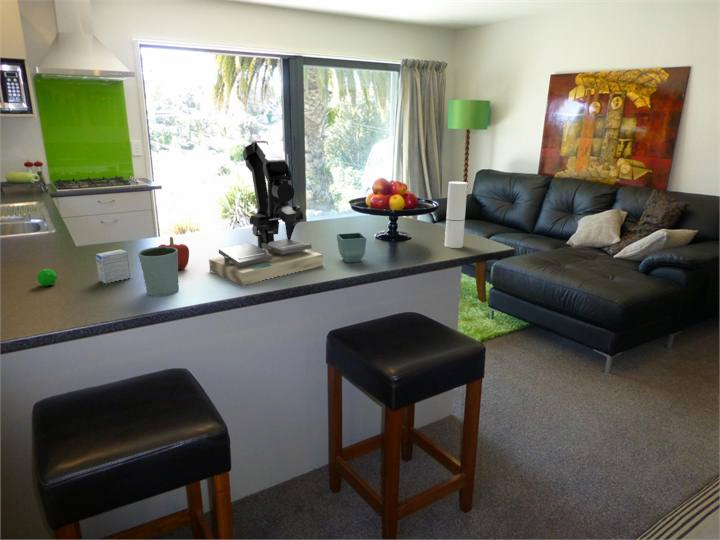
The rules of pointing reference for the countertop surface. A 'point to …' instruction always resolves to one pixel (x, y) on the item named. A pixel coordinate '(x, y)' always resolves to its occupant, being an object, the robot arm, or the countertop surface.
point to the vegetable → (180, 253)
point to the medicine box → (113, 266)
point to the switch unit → (266, 266)
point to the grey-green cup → (160, 270)
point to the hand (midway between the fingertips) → (278, 242)
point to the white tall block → (455, 214)
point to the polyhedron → (47, 277)
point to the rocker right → (286, 246)
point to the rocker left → (245, 254)
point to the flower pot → (351, 246)
